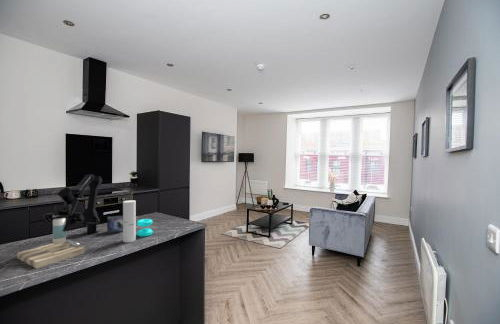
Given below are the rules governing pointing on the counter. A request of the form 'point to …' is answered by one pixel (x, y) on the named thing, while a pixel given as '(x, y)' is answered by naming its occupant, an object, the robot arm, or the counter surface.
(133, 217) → the cylindrical container
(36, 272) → the counter surface
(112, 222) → the small box
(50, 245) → the light wood flat tray
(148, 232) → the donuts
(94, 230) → the robot arm
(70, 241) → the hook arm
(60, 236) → the white teal rounded cylinder
